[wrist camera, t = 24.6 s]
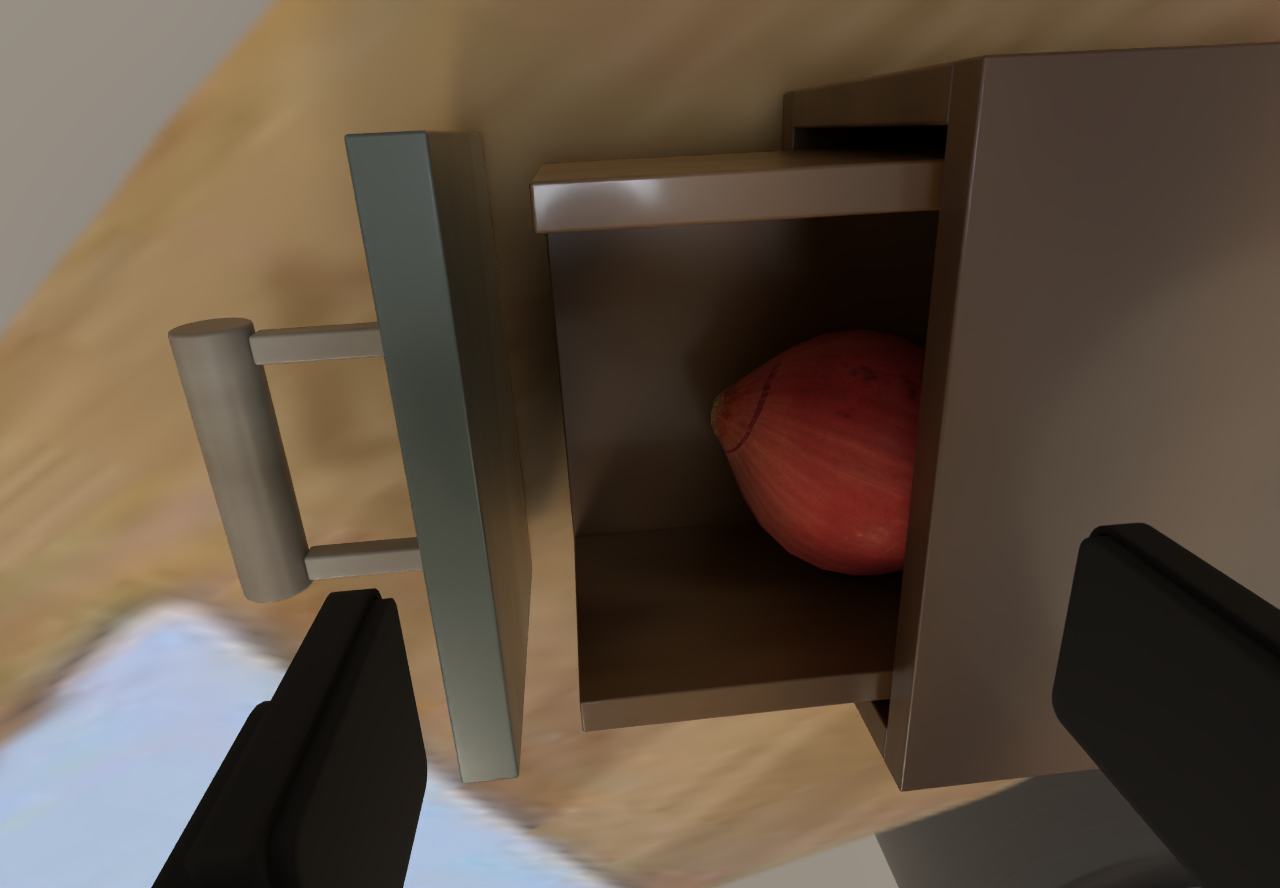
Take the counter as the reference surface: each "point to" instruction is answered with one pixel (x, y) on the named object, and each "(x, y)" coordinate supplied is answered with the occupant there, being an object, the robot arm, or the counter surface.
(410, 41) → the counter surface
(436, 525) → the drawer
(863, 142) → the cabinet
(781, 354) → the onion
